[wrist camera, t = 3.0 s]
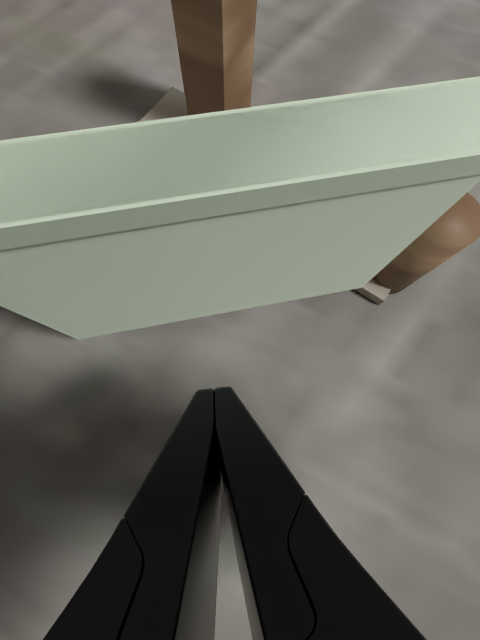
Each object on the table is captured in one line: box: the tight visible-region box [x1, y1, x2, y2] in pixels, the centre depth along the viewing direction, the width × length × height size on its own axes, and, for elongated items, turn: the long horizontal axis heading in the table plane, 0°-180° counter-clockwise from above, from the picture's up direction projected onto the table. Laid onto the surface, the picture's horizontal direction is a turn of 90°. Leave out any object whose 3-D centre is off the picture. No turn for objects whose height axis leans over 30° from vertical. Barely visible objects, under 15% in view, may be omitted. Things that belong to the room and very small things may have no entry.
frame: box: [139, 0, 480, 305], centre depth 13 cm, size 6×17×9 cm, turn 56°
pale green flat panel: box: [0, 77, 480, 340], centre depth 11 cm, size 13×2×8 cm, turn 101°
